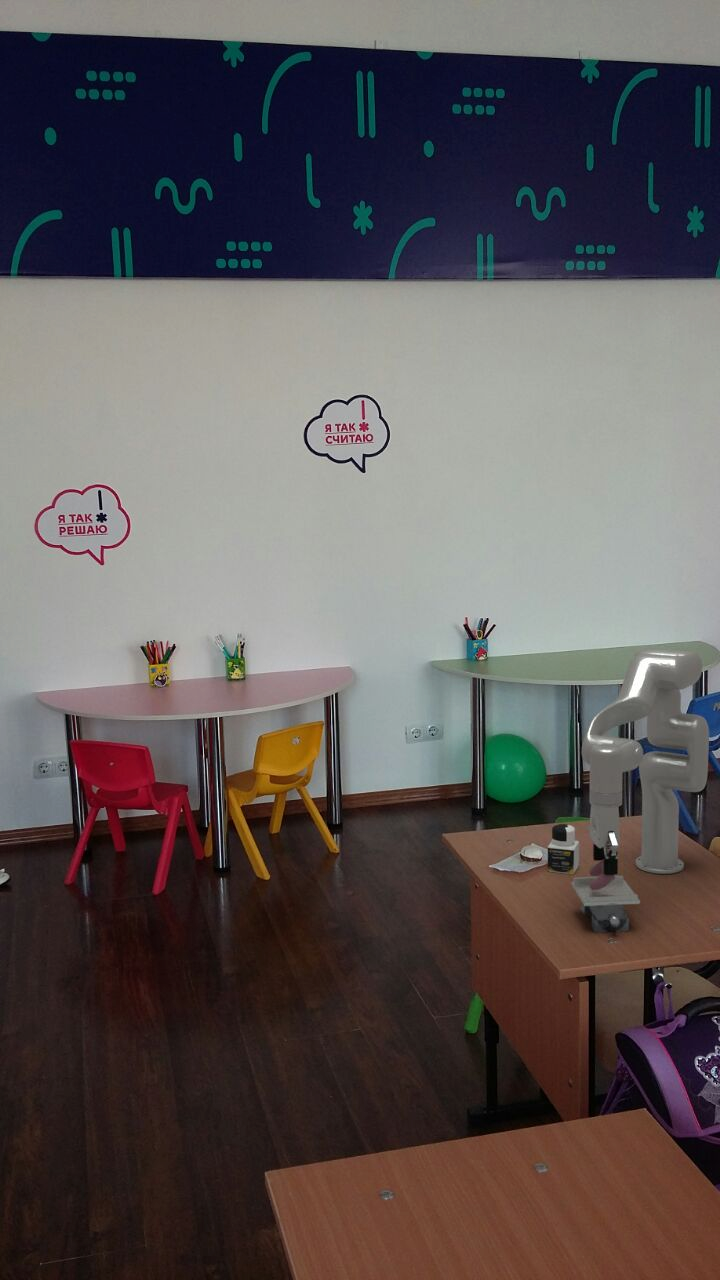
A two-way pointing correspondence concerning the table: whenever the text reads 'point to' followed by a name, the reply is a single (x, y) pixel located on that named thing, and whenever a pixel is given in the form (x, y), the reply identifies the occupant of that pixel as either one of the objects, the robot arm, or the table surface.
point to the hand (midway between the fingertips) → (605, 867)
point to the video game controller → (603, 878)
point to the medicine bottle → (563, 850)
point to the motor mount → (605, 903)
